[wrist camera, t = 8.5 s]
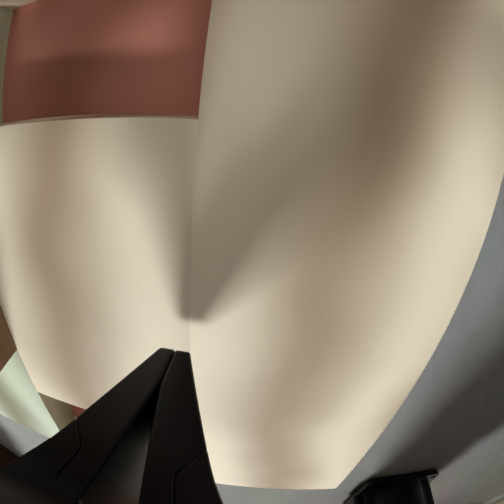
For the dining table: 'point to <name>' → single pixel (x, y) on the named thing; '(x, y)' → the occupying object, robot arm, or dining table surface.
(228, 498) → the dining table surface
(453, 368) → the dining table surface
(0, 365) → the walnut block
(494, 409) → the dining table surface
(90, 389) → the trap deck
